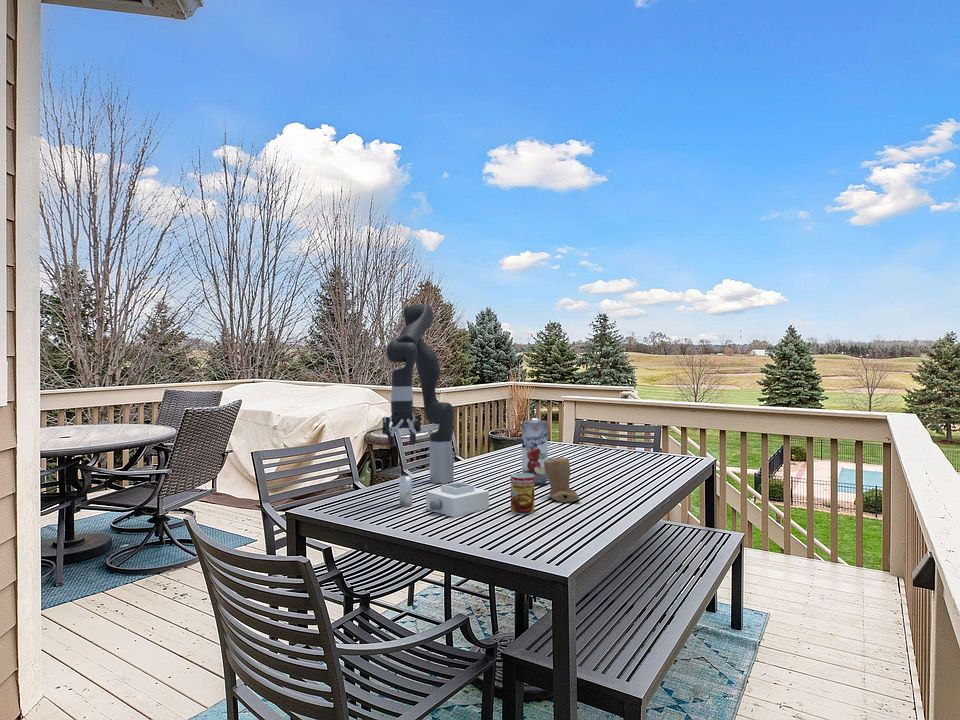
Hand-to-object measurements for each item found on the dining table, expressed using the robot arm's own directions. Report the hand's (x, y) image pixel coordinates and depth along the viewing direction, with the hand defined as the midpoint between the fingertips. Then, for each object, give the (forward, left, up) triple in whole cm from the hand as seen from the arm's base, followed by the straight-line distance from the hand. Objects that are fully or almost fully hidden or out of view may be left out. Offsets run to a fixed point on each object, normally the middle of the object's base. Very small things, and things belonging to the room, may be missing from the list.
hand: (401, 445), depth 197 cm
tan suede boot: (-48, +32, -21) cm, 61 cm away
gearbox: (-9, +17, -21) cm, 29 cm away
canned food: (-25, +34, -21) cm, 47 cm away
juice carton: (-61, +9, -21) cm, 65 cm away
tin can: (-1, +1, -21) cm, 21 cm away
